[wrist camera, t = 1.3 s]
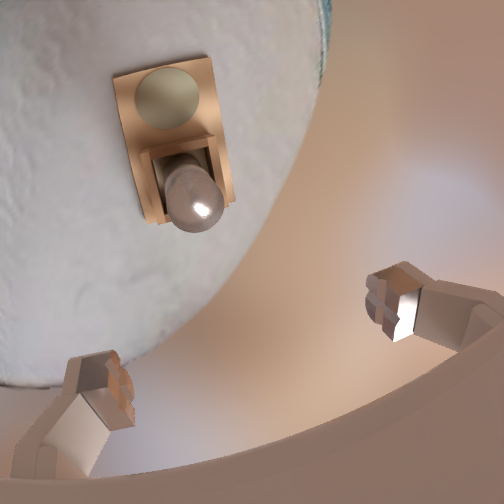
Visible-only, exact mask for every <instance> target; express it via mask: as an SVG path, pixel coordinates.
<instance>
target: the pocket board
mask: <svg viewBox="0 0 504 504" xmlns="http://www.w3.org/2000/svg"><path fill="white" fill-rule="evenodd" d="M113 83H114V88H115V94H116V99H117V104H118V109H119V114H120V119H121V123H122V128H123V133H124V137H125V142H126V146H127V150H128V155H129V159H130V163H131V167H132V171H133V175H134V179H135V183H136V187H137V190H138V194H139V198H140V202H141V205H142V209H143V212H144V216H145V219H146V223H147V224H149V223H153V222H158V225H160V224H163V223H167V222H171V220H170V218H169V215H168V212H167V204H166V196H165V187H164V177H163V170H164V167H165V164H166V163H167V161H168V160H169V159H170V158H171V157H173V156H175V155H178V154H188V155H191V156H193V157H194V158H195V159H197V161H198V162H199V163H200V164H201V166H202V167H203V168H204V169H205V171H206V172H207V173H208V174H209V176H210V177H211V178H212V179H213V181H214V182H215V183H216V185H217V186H218V187H219V188H220V190H221V192H222V194H223V197H224V208H225V207H229V206H228V203H231V202H235V195H234V189H233V183H232V178H231V172H230V166H229V161H228V155H227V149H226V143H225V137H224V132H223V126H222V120H221V114H220V108H219V102H218V97H217V91H216V85H215V79H214V73H213V67H212V61H211V57H208V58H202V59H196V60H190V61H185V62H180V63H175V64H170V65H165V66H161V67H156V68H152V69H148V70H144V71H140V72H136V73H132V74H128V75H124V76H121V77H117V78H114V79H113Z"/></svg>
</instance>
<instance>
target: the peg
mask: <svg viewBox="0 0 504 504" xmlns="http://www.w3.org/2000/svg"><path fill="white" fill-rule="evenodd" d="M163 177H164V187H165V196H166V204H167V212H168V215H169V218H170V220H171V221H172V222H173V224H174V225H175V226H177V227H178V228H179V229H181V230H183V231H186V232H191V233H198V232H203V231H206V230H208V229H210V228H211V227H213V226H214V225H215V224H216V223H217V222H218V221H219V219H220V218H221V216H222V214H223V210H224V197H223V194H222V192H221V190H220V188H219V187H218V186H217V185H216V183H215V182H214V181H213V179H212V178H211V177H210V176H209V174H208V173H207V172H206V171H205V169H204V168H203V167H202V166H201V164H200V163H199V162H198V161H197V159H195V158H194V157H193V156H191V155H188V154H178V155H175V156H173V157H171V158H170V159H169V160H168V161H167V163H166V164H165V167H164V170H163Z"/></svg>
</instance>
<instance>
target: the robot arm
mask: <svg viewBox="0 0 504 504" xmlns="http://www.w3.org/2000/svg"><path fill="white" fill-rule="evenodd" d="M366 287H367V288H368V289H369V292H368V294H367V296H366V298H365V299H366V300H365V305H366V310H367V313H368V315H369V317H370V318H371V319H372V320H373V322H375V323H377V324H381V325H382V330H383V332H384V333H385V334H386V335H387V336H388V337H389V338H390V339H391V340H392V341H393V342H395V341H397V340H399V339H401V338H403V337H405V336H408V335H410V334H412V333H413V334H415V335H417V336H420V337H422V338H425V339H427V340H429V341H432V342H435V343H437V344H439V345H442V346H445V347H447V348H450V349H452V350H455V351H457V352H458V353H457V354H455V355H454V356H452V357H450V358H449V359H447V360H446V361H445V362H443V363H441V364H439V365H438V366H436V367H434V368H433V369H431V370H430V371H428V372H426V373H425V374H423V375H421V376H419V377H418V378H416V379H414V380H413V381H411V382H409V383H407V384H405V385H403V386H402V387H400V388H398V389H396V390H394V391H392V392H390V393H388V394H386V395H385V396H383V397H381V398H379V399H377V400H375V401H373V402H371V403H369V404H367V405H364V406H362V407H360V408H358V409H356V410H354V411H351V412H349V413H347V414H345V415H342V416H340V417H338V418H336V419H333V420H331V421H328V422H326V423H323V424H321V425H319V426H316V427H314V428H311V429H308V430H306V431H304V432H301V433H298V434H295V435H293V436H289V437H287V438H284V439H281V440H278V441H275V442H272V443H269V444H266V445H262V446H259V447H256V448H253V449H249V450H246V451H243V452H239V453H236V454H232V455H228V456H224V457H220V458H217V459H213V460H208V461H204V462H200V463H195V464H190V465H186V466H181V467H176V468H170V469H164V470H159V471H152V472H146V473H139V474H131V475H123V476H114V477H102V478H90V477H89V476H88V475H89V473H90V471H91V469H92V467H93V465H94V463H95V461H96V460H97V458H98V456H99V454H100V452H101V450H102V448H103V446H104V444H105V442H106V440H107V439H108V437H109V434H110V433H111V432H110V431H113V430H118V429H124V428H128V427H133V426H135V409H134V407H133V406H132V404H131V402H132V401H133V399H134V389H133V384H132V381H131V378H130V376H129V374H128V372H127V370H126V369H124V368H123V367H121V366H120V358H119V356H118V354H117V353H116V351H114V350H108V351H103V352H98V353H93V354H88V355H84V356H79V357H74V358H71V359H69V360H68V364H67V368H66V373H65V377H64V382H63V387H62V391H61V396H59V397H56V398H55V399H54V400H53V402H52V403H51V404H50V405H49V406H48V407H47V409H46V410H45V411H44V412H43V413H42V414H41V416H40V417H39V418H38V419H37V420H36V422H35V423H34V424H33V425H32V426H31V427H30V429H29V430H28V431H27V432H26V434H25V435H24V436H23V437H22V438H21V440H20V441H19V442H18V443H17V444H16V446H15V450H14V455H13V461H12V467H11V473H10V478H2V477H0V504H504V297H503V296H502V295H500V294H499V293H497V292H496V291H490V290H485V289H481V288H476V287H471V286H466V285H461V284H456V283H452V282H446V281H441V280H437V281H435V280H433V279H432V278H430V277H429V276H428V275H426V274H425V273H423V272H422V271H420V270H419V269H417V268H416V267H414V266H413V265H412V264H410V263H409V262H406V261H403V262H400V263H398V264H395V265H393V266H392V267H389V268H386V269H383V270H381V271H378V272H375V273H372V274H370V275H368V277H367V279H366Z"/></svg>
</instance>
